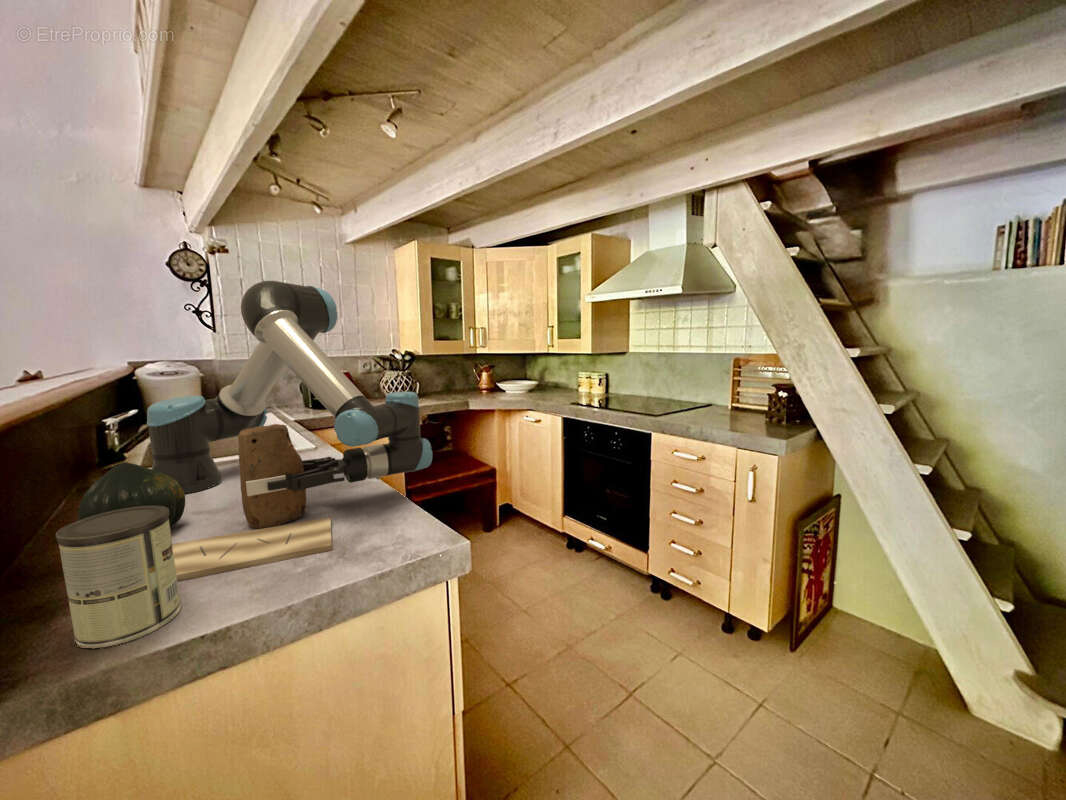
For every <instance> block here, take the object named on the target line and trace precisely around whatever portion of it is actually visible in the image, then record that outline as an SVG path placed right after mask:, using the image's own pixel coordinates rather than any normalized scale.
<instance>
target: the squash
mask: <svg viewBox="0 0 1066 800" xmlns="http://www.w3.org/2000/svg"><path fill="white" fill-rule="evenodd" d="M152 505H154V506H164V507H167V508H168V509H169V516H168V517H169V525H170V528H172V527H173V526H175V525H176V524H177V523H178V522H179V521H180V520H181V518H182V517H183V515H184V512H185V506H186V494H184V491H183V489H182V487H181V486H180V485H179V483H178V482H177V481H176V480H175V479H173V478H171V477H170V476H168V475H165V474H163V473H160V472H158V471H155V470H152V468H148V467H145V466H143V465H139V464H136V463H131V462H127V461H123V462H121V463H120V464H117V465H115V466H113V467H112V468H111V469H110V470H109V471H107V472H106V473H104V475H102V476H101V477H99V479H98V480H96V481H95V482H94V483H92V485H91V486H90V487H89V488H88V490H87V491H86V492H85V494H83V497H82V499H81V502H80V504H79V508H78V513H77V520H81V519H84V518H87V517H90V516H93V515H97V514H101V513H105V512H109V511H113V510H119V509H124V508H130V507H138V506H152Z"/></svg>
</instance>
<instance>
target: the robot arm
mask: <svg viewBox="0 0 1066 800" xmlns="http://www.w3.org/2000/svg"><path fill="white" fill-rule="evenodd" d="M240 314H241V317H242V320H243V322H244V324H245V326H246V328H247V329H248V330H249V332H250V333H251V334H252V336H254V337H255V338H256V340H257V341H259V343H258V344H257V346H256V347H255V349H254V350H253V352H252V353H251V354H250V356H249V358H248V359H247V361H246V363H245V364H244V366H243V367H242V369H241V371H240V372H239V374H237V377H236V378H235V380H234V381H233V383H232V384H229V385H226V386H224V387H222V388H221V389H220V391H219V393H218V395H216V397H215V398H212V399H205V397H204V396H202V395H189V396H187V395H186V396H181V397H174V398H169V399H164V400H160V401H158V402H154V403H152V404H151V405H150V406H149V407H148V408H147V411H146V413H147V414H146V420H147V421H146V425H147V427H148V434H149V442H150V449H151V450H150V451H151V455H152V465H151V469H152V470H155V471H158V472H160V473H163V474H165V475H168V476H170V477H171V478H173V479H175V480H176V481H177V482H178V483H179V485H180V486H181V487H182V489H183V491H184V494H185V495H187V494H191V492H192V493H195V491H196V492H200V491H203V490H202V489H204V490H207V489H209V488H208V487H210V488H212V487H211V486H213V485H215V484H217V483H219V482H220V481H221V480H222V474H221V471H220V469H219V468H218V466H217V464H216V462H215V460H214V458H213V457H212V454H211V446H210V443H213V442H216V441H217V442H218V441H223V440H228V439H232V438H238V435H239V432H240V431H242V430H244V429H248V428H253V427H258V426H265V424H266V422H267V419H268V416H267V414H268V409H267V404H266V398H267V396H268V395H269V393H270V392H271V390H272V389H273V387H274V386H275V385H276V383H277V382H278V381H279V378H280V377H281V376H282V375H283V374H284V372H285V370H286V369H287V368H289V369H290V370H291V371H292V372H293V373H294V374H295V376H296V377H297V378H298V379H299V380H300V381H301V382H302V384H304V385H305V386H306V388H307V389H308V390H309V391H310V392H311V394H313V396H314V397H315V398H316V399H317V400H318V401H319V402H320V403H321V404H322V406H324V408H325V409H326V410H327V411H328V412H329V413H330V414H331V416H333V418H334V419H335V420H334V425H333V430H334V432H335V433H336V439H338V441H339V442H340V443H341V444H343V445H345V446H347V447H353V448H349V449H348V448H347V449H345V450H344V451H343V455H342V456H343V457H342V459H336V457H332V456H327V457H322V458H313V459H305V460H303V459H302V462H303V468H304V472H302V473H299V474H295V475H291V474H290V473H286V477H285V475H283V476H277V477H271V478H265V479H259V480H253V481H247V482H246V488H247V496H252V495H258V494H263V493H269V492H274V491H280V490H285V489H289V490H291V489H292V491H298V490H303V489H310V488H315V487H320V486H323V485H327V484H332V483H338V482H344V481H345V480H346V481H347V482H348V483H351V484H352V483H357V482H361V481H366V480H367V479H369V480H371V479H376V480H377V481H378V480H381V477H386V476H390V475H391V476H392V475H397V474H403V473H409V472H411V473H413V472H417V471H420V470H423V469H426V468H428V467H429V466H431V464H432V461H433V450H432V446H431V443H430V441H429V440H428V439H427V438H424V437H423V438H422V436H421V418H420V417H421V415H420V409H421V408H420V404H419V403H420V402H419V395H418V394H417V393H416V392H413V391H394V392H388V393H387V394H386V396H385V401H384V403H382V404H376V405H373V404H372V402H371V401H370V400H369V399H367V397H366V396H365V395H364V394H363V393H362V391H360V390H359V388H358V387H357V386H355V384H354V383H353V382H352V381H351V380H350V379H349V378H348V377H347V376H346V375H345V374H344V372H343V371H342V370H341V369H340V368H339V367H338V366H337V364H335V362H333V361H332V359H331V358H330V357H329V356H328V355H327V354H326V353H325V352H324V351H323V349H321V348H320V346H319V345H318V344H317V343H316V342H315V339H316V337H317V336H318V334H319V333H320V334H325V333H329V332H331V331H332V330H333V329H334V328H335V326H336V325H337V322H338V310H337V304H336V302H335V299H334V298H333V296H332V295H331V294H330V293H329V292H328V291H327V290H325V289H322V288H319V287H315V286H313V285H307V286H306V285H300V284H295V283H288V282H281V281H279V280H264V281H260V282H257V283H255V284H253V285H252V286H250V287H249V288H248V289H247V290H246V292H244V294H243V296H242V299H241V302H240ZM386 438H387V440H388V443H383V444H382V443H381V444H374V445H370V444H371V443H373V442H376V441H378V440H383V439H386ZM363 445H364V447H363V448H361V447H359V446H363ZM366 445H367V446H366ZM357 446H358V447H357ZM354 447H355V448H354ZM221 482H222V481H221ZM219 484H220V483H219ZM213 487H214V486H213ZM206 488H207V489H206ZM199 490H200V491H199ZM186 493H187V494H186Z"/></svg>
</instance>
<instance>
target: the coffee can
mask: <svg viewBox="0 0 1066 800" xmlns="http://www.w3.org/2000/svg"><path fill="white" fill-rule="evenodd" d="M168 516H169V509H168V508H167V507H164V506H154V505H152V506H138V507H130V508H124V509H119V510H113V511H109V512H105V513H101V514H97V515H93V516H90V517H87V518H84V519H81V520H79V519H77V520H75V521H74V522H71V523H68V524H66V525H65V526H62V527H61V528H60V529H58V530H57V531H56V533H55V539H56V541H57V542H58V543H57V544H58V548H59V553H60V554H59V555H60V559H61V564H62V565H61V566H62V572H63V578H64V584H65V588H66V593H67V600H68V604H69V605H68V606H69V612H70V616H71V623H72V629H73V635H74V642H75V641H76V643H77V644H78V645H82V646H85V647H98V646H99V647H100V646H101V647H102V646H111V645H116V644H120V643H123V644H126V643H129V642H131V641H130V640H132V641H135V640H137V638H138V639H140V638H142V637H144V636H147V635H149V634H151V633H154V632H155V631H157V630H159V629H160V628H162V627H164V626H166V625H167V624H168V623H169V622H171V621H172V620H173V619H174V618H175V617H177V616H178V614H179V613H180V611H181V610H182V603H181V599H180V591H179V585H178V581H177V576H176V568H175V561H174V554H173V546H172V544H173V540H172V539H173V538H172V534H171V532H172V531H171V527H170V525H169V517H168ZM134 639H135V640H134ZM128 641H129V642H128ZM125 642H126V643H125ZM120 645H121V644H120ZM116 646H117V645H116Z"/></svg>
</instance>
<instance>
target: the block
mask: <svg viewBox="0 0 1066 800" xmlns="http://www.w3.org/2000/svg"><path fill="white" fill-rule="evenodd" d="M288 429H289V428H288V427H287V425H285V424H279V423H274V424H268V425H264V426H258V427H253V428H248V429H244V430H242V431H240V432H239V435H238V437H237V438H238V441H237V442H238V465H239V466H238V467H239V469H238V470H239V479H240V494H241V502H242V504H241V505H242V510H243V514H244V516H245V520H246V522H247V524H248V525H249V526H250V527H251V528H253V529H264V528H270V527H275V526H281V524H282V525H285V524H287V523H288V522H292V521H294V520H296V519H299V518H301V516H303V515H304V514H305V512H306V507H307V490H306V489H303V490H298V491H292V489H291V490H289V489H285V490H280V491H274V492H269V493H263V494H258V495H252V496H247V488H246V482H247V481H253V480H259V479H265V478H271V477H277V476H283V475H285V477H286V473H290V474H291V475H295V474H299V473H302V472H304V468H303V462H302V461H303V459H302V458H301V455H300V454H299V453H298V452H297V450H296V448H295V447H294V444H293V443H292V439H291V437H290V432H289V430H288Z"/></svg>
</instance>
